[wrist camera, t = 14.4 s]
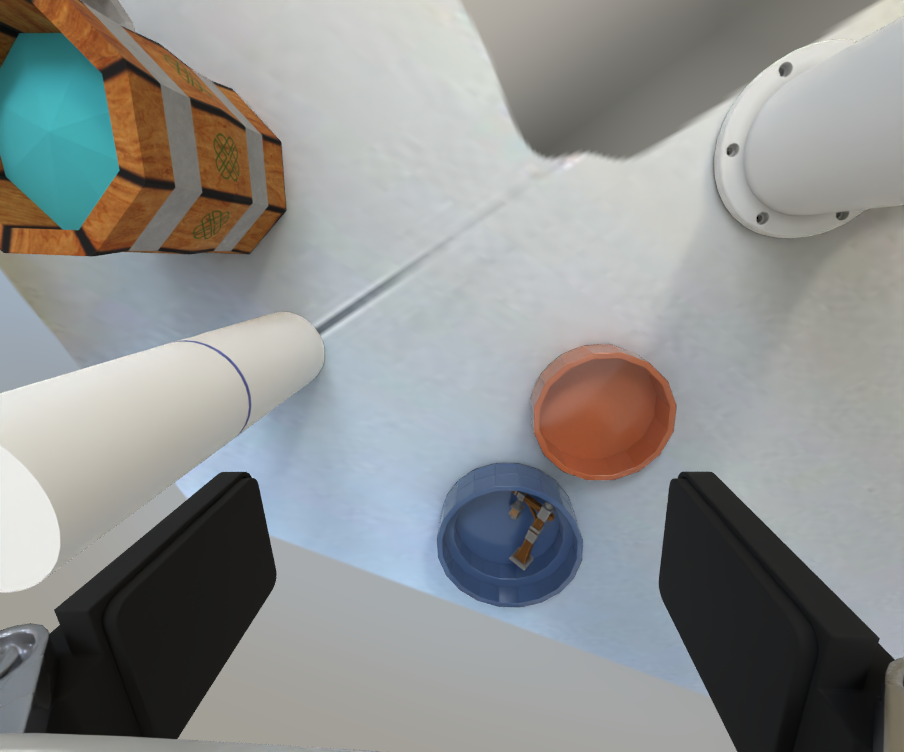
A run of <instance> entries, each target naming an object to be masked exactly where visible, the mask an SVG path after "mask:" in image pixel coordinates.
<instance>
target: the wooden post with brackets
mask: <svg viewBox="0 0 904 752" xmlns="http://www.w3.org/2000/svg"><path fill="white" fill-rule="evenodd" d="M511 492H512V493H514V495H516V496H517V498H518V500H517V501H515V502H514V503H513V504H512V505H511V507H512V509H511V511H510V512H509V513H508V514H509V515H510V517H511V519H513V520H515V519H517V518H518V517H519V516H520V515H521V514H520V513H521V511H522V510H523V509H524V508H525V507H524V506H523V505H522V504H523V501H524V502H525V503H526V504H527V505H528V506H529V508H530V510H531V512H532V514H533V516H534V518H535V520H534V523H533V524H532V525H531V526H530V527H529V530H528V533H527V535H526V536H525V537H524V538H525V541H524V543H523V544H522V546H521V548H520V547H518V548H517V550H516V551H515V552H514V553H513V554H512V555H511V557H510V558H509V559H510V560H511V561H513V562H514V563H515V564H516V565H518V566H519V567H520V568H521V569H523V570H525V569H526V568H527V567H528V566H529V564H530V563H531V562H532V561H533V557H532V556H531V555H530V554H531V550H532V547H533V544H534V542H535V541H536V540H537V539H538V536H539V534H540V533H541V531H542V530H543V528H544V527H543V525H544V523H545V522H546V521H547V520H549V521H550V522H551V521H553V520H554V518H555V515H554V514H553V513H552V512H553V510H554V509H555V508H554V507H553V505H552V504H551V503H549V502H545V503H544V505H542V504H540V503H539V502H538V501H536V500H535V499H534V498H532V497H531V496H530V495H528V493H524V492H521V491H511ZM534 509H535V510H536V511H537V512H539V513H538V515H537V514H536V512H535V510H534Z"/></svg>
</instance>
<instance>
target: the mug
mask: <svg viewBox="0 0 904 752" xmlns="http://www.w3.org/2000/svg"><path fill="white" fill-rule="evenodd" d="M285 211H286V201H285V188H284V175H283V162H282V149H281V141H280V140H279V139H278V138H277V137H276V136H275V135H274V134H273V133H272V132H271V131H270V129H269V128H268V127H267V126H266V125H265V124H264V123H263V122H262V121H261V120H260V119H259V118H258V116H257V115H256V114H255V113H254V112H253V111H252V110H251V109H250V108H249V107H248V106H247V105H246V104H245V102H244V101H243V100H242V99H241V98H240V97H239V96H238V95H237V94H236V93H235V92H234V91H233V90H232V89H231V88H228V87H226V86H223V85H221V84H218V83H215V82H213V81H211V80H209V79H207V78H206V77H204V76H202V75H201V74H199V73H197V72H196V71H194V70H192V69H191V68H189V67H188V66H187V65H186V64H184V63H183V62H182V61H181V60H179V59H178V58H177V57H175V56H174V55H173V54H172V53H170V52H169V51H168V50H167V49H165V48H164V47H163V46H161V45H160V44H159V43H156V42H154V41H152V40H150V39H148V38H146V37H144V36H142V35H140V34H138V33H136V32H135V29H134V26H133V22H132V21H131V19H130V18H129V16H128V15H127V13H126V12H125V10H124V8H123V7H122V5H121V4H120V2H119V1H118V0H0V250H1V251H2V252H3V253H20V254H46V255H72V256H99V255H105V254H111V253H118V252H141V253H168V254H196V253H228V254H250V253H251V252H252V250H253V249H254V248H255V247H256V246H257V244H258V243H259V242H260V241H261V240H262V239H263V237H264V236H265V235H266V234H267V233H268V231H269V230H270V229H271V228H272V227H273V226H274V224H275V223H276V222H277V221H278V220H279V218H280V217H281V216H282V215H283V214H284V213H285Z"/></svg>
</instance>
